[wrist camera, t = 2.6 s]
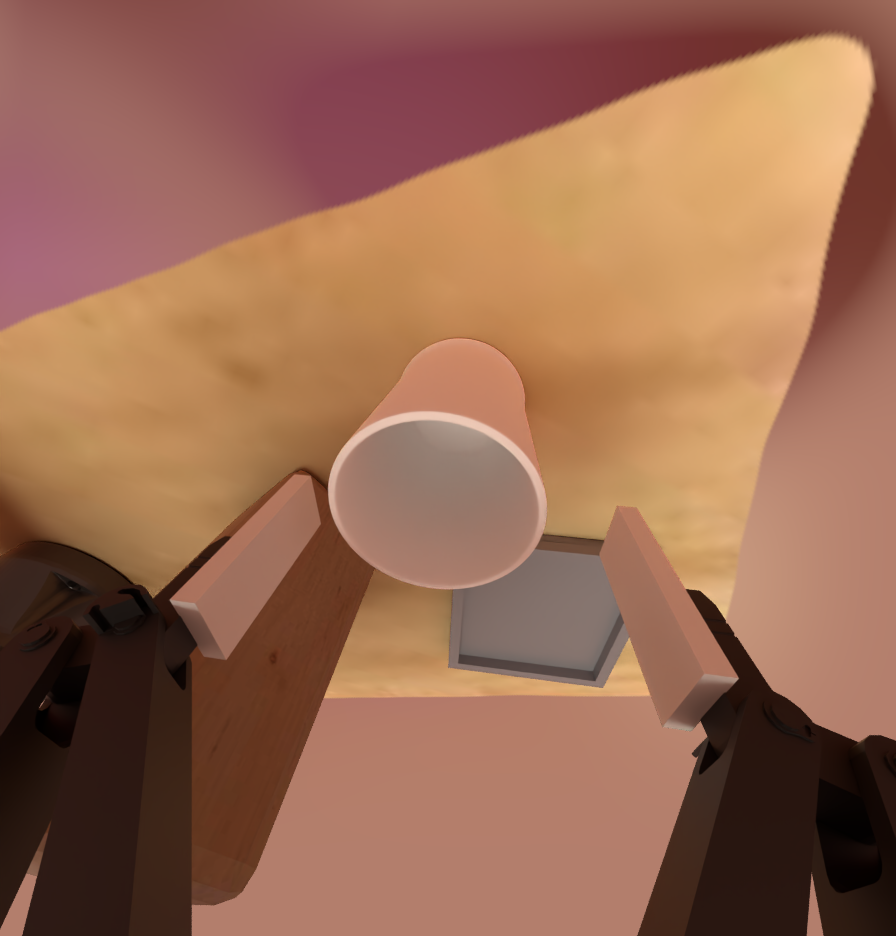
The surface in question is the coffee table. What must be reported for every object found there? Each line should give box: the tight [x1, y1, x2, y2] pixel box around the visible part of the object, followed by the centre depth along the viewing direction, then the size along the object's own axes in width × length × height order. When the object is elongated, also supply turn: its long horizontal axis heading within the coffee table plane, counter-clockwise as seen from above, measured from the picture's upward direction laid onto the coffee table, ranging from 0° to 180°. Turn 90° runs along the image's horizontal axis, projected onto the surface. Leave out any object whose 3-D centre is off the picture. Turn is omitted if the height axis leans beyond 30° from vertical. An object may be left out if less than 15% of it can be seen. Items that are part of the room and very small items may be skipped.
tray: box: [448, 535, 629, 688], centre depth 31 cm, size 16×18×2 cm
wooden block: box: [27, 470, 375, 905], centre depth 21 cm, size 10×10×20 cm
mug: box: [328, 338, 547, 589], centre depth 18 cm, size 12×8×12 cm
